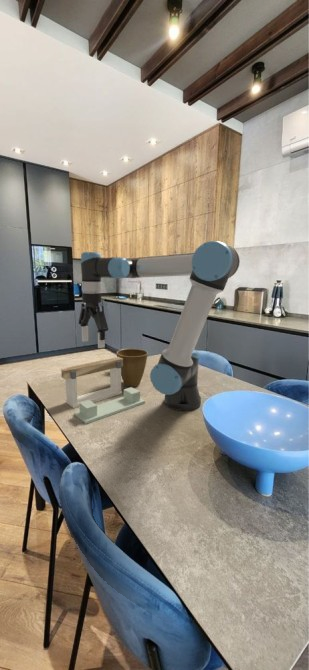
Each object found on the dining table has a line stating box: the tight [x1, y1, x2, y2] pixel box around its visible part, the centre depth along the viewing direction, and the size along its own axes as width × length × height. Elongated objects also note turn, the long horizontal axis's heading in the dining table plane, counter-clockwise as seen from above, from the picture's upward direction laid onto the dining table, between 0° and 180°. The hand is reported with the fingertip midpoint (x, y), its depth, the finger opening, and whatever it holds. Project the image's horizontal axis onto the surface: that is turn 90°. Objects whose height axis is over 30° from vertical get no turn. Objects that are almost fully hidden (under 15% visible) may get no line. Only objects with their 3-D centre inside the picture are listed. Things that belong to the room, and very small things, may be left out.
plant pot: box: [116, 348, 149, 388], centre depth 136 cm, size 15×15×16 cm
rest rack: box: [73, 387, 146, 425], centre depth 111 cm, size 9×27×5 cm, turn 131°
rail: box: [60, 356, 123, 381], centre depth 119 cm, size 4×27×4 cm, turn 131°
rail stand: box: [65, 361, 123, 409], centre depth 120 cm, size 7×23×15 cm, turn 131°
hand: (93, 344), depth 117 cm, fingers open, 13 cm apart
